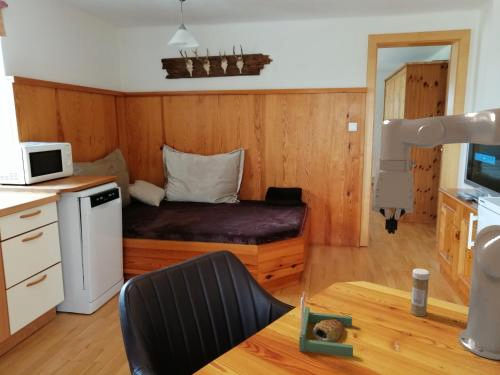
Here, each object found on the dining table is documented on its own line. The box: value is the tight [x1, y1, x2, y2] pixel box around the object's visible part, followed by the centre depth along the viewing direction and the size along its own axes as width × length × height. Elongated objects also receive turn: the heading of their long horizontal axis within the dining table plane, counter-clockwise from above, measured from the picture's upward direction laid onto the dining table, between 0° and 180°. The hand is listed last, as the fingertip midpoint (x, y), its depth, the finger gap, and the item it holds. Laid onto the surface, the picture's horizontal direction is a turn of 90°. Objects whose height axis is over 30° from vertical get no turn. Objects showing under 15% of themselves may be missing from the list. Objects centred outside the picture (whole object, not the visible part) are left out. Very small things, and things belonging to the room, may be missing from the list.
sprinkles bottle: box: [410, 268, 430, 317], centre depth 115 cm, size 5×5×14 cm
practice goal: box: [298, 291, 354, 358], centre depth 104 cm, size 13×16×14 cm
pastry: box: [311, 319, 344, 343], centre depth 106 cm, size 9×7×4 cm
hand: (390, 232), depth 106 cm, fingers closed
